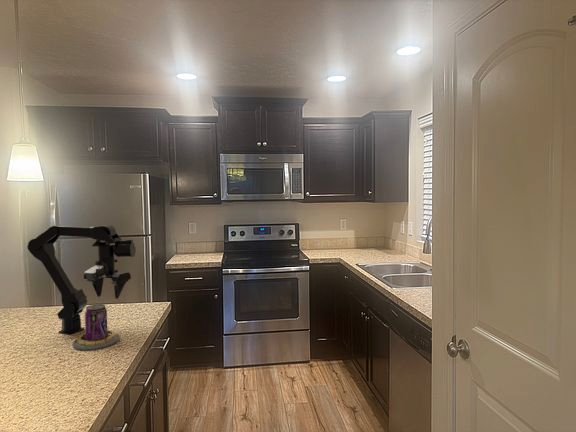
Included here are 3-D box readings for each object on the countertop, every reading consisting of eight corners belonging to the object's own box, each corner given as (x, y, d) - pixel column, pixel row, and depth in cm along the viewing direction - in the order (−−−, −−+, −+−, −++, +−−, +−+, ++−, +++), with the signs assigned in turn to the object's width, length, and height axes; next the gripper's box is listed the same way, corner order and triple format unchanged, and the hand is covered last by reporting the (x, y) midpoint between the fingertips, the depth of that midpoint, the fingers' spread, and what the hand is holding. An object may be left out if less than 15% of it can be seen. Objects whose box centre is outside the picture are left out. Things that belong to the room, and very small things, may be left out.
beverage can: (98, 344, 134) (97, 309, 133) (80, 342, 136) (79, 308, 135) (112, 336, 141) (111, 304, 140) (95, 335, 142) (94, 303, 142)
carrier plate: (62, 347, 134) (62, 339, 134) (98, 332, 148) (98, 326, 148) (94, 353, 129) (94, 345, 128) (128, 337, 142) (128, 331, 142)
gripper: (70, 259, 145) (72, 300, 146) (107, 262, 138) (109, 305, 139) (95, 255, 156) (96, 293, 156) (131, 257, 149) (132, 297, 149)
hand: (107, 297), depth 150 cm, fingers open, 9 cm apart
